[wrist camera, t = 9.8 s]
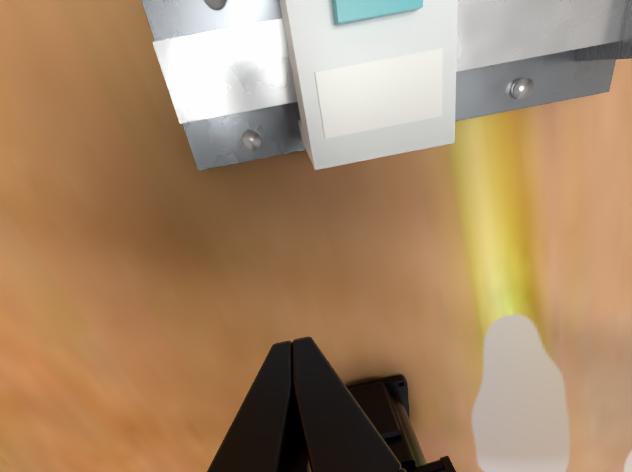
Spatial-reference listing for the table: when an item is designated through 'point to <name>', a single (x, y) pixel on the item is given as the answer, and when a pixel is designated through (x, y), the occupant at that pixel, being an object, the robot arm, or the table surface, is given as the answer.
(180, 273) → the table surface
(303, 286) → the table surface
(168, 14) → the rail panel
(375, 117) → the module
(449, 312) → the table surface
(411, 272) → the table surface
